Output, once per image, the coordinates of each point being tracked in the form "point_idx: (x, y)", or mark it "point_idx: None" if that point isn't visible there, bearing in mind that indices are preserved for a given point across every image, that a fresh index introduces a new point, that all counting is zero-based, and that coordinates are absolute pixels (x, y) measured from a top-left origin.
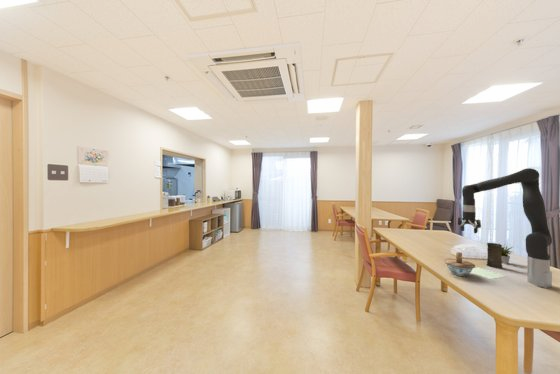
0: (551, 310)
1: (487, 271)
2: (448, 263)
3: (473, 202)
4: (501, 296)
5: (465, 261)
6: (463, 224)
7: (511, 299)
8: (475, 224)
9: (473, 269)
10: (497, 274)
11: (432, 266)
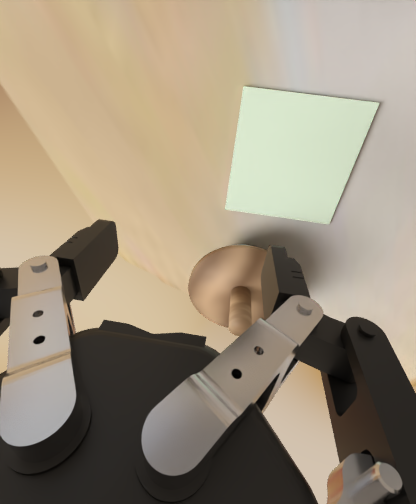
0: None
1: (297, 121)
2: (224, 325)
3: None
4: (371, 321)
5: (247, 257)
6: (74, 328)
7: (393, 320)
8: (286, 368)
9: (247, 157)
10: (341, 123)
11: (151, 260)
